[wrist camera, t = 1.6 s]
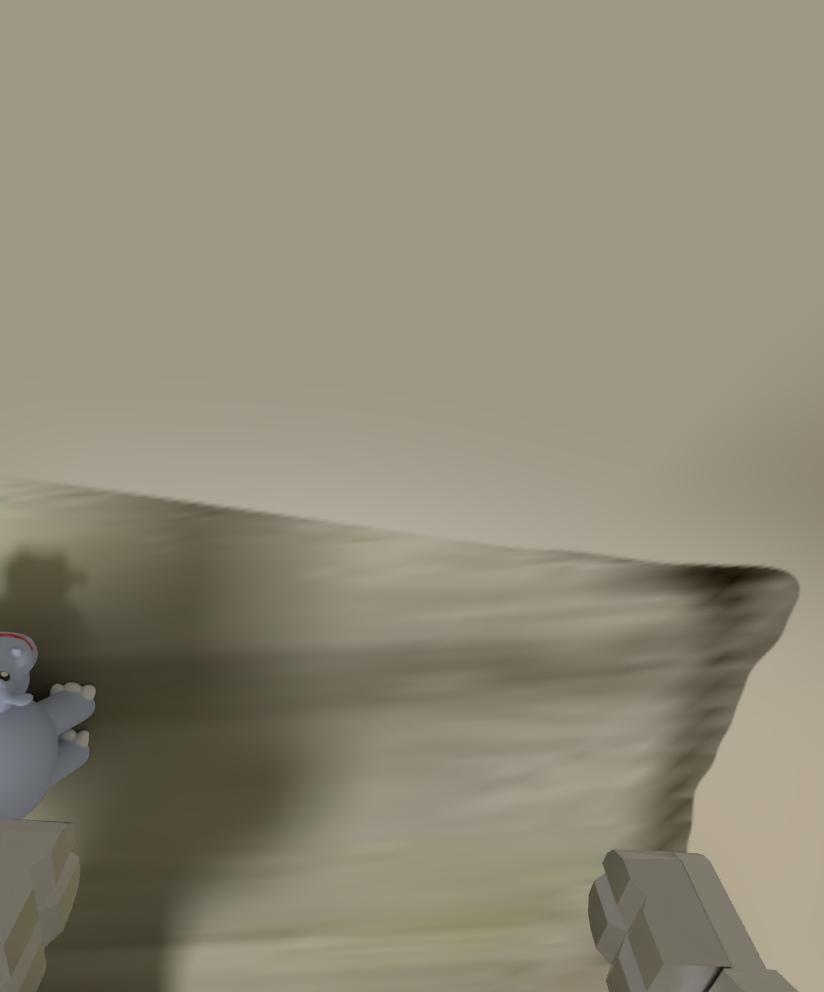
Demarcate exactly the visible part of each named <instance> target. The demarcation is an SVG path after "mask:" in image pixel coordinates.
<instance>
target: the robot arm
mask: <svg viewBox="0 0 824 992" xmlns="http://www.w3.org/2000/svg"><path fill="white" fill-rule="evenodd" d="M76 839H77V833H76V828H75V823H72V822H56V821H39V820H23V819H6V818H0V992H37V989H38V987H39V985H40V983H41V980H42V978H43V976H44V973H45V971H46V969H47V965H46V958H45V952H44V948H45V947H46V946H47V945H48V944H49V943H50V942H51V941H52V940H53V939H55V938H56V937H57V936H58V935H59V934H60V933H61V932H62V931H63V929H64V927H65V925H66V922H67V920H68V917H69V915H70V913H71V910H72V907H73V904H74V900H75V897H76V893H77V890H78V886H79V879H80V870H81V868H80V858H79V857H78V856H77V855H76V854H75V853H74V852H72V851H71V850H72V848H73V846H74V843H75V841H76ZM602 864H603V867H604V870H605V874H604V875H602V876H601V877H599V878H598V879H596V880H595V881H594V882H593V885H592V888H591V890H590V893H589V903H588V915H589V922H590V928H591V932H592V936H593V939H594V943H595V946H596V948H597V950H598V951H599V952H600V953H601V954H602V955H603V956H604V958H605V959H606V960H607V961H608V962H609V963H610V968H609V972H608V976H607V979H606V983H607V986H608V989H609V992H798V991H797V990H796V989H795V988H794V987H793V986H792V985H791V984H790V983H789V982H788V981H787V980H786V979H785V978H784V977H783V976H781V975H780V974H779V973H778V972H777V971H776V970H768V969H766V967H765V965H764V964H763V962H762V960H761V958H760V956H759V954H758V952H757V950H756V948H755V946H754V944H753V942H752V941H751V939H750V937H749V935H748V933H747V931H746V929H745V927H744V925H743V924H742V921H741V920H740V918H739V916H738V914H737V912H736V910H735V908H734V906H733V904H732V902H731V901H730V899H729V897H728V895H727V893H726V891H725V889H724V887H723V885H722V883H721V881H720V879H719V878H718V875H717V874H716V872H715V870H714V868H713V866H712V864H711V862H710V861H709V860H708V859H707V858H706V857H705V856H704V855H701V854H697V853H673V852H669V851H642V850H612V851H610V852H608V853H607V854H606V856H605V858H604V861H603V863H602Z"/></svg>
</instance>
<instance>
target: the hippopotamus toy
mask: <svg viewBox="0 0 824 992" xmlns="http://www.w3.org/2000/svg"><path fill="white" fill-rule="evenodd" d="M37 657H38V652H37V647H36V645H35V643H34V641H33V640H32V639H31V638H30V637H28V636H26V635H24V634H20V633H15V632H0V818H6V819H23V818H24V817H25V816H26V815H27V814H29V813H30V812H31V811H32V810H33V809H34V808H35V807H36V806H37V805H38V803H39V802H40V801H41V800H42V798H43V797H44V796H45V794H46V793H47V791H48V789H49V787H51V786H52V785H54V784H55V783H57V782H58V781H60V780H61V779H63V778H64V777H66V776H67V775H69V774H70V773H72V772H73V771H75V770H76V769H78V768H79V767H81V766H82V765H83V764H85V763H86V761H87V760H88V758H89V753H90V750H89V746H88V742H89V732H88V731H86V730H82V731H80V732H79V733H76V732H75V731H74V730H73V729H71V728H72V727H74V726H76V725H78V724H79V723H81V722H83V721H84V720H86V719H88V718H89V717H90V716H91V715H92V714H93V712H94V710H95V701H94V696H95V693H96V689H95V687H94V686H92V685H85V686H83V687H82V686H80V685H79V684H77V683H74V682H69V683H66V684H65V685H64V686H63V685H61V684H54V685H53V686H52V688H51V690H50V696H49V697H47V698H45V699H43V700H41V701H39V702H37V703H36V702H34V701H33V695H32V694H29V693H27V694H25V692H26V690H27V688H28V685H29V681H30V674H29V671H30V670H31V669H32V667H33V666H34V664H35V663H36V660H37Z"/></svg>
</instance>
